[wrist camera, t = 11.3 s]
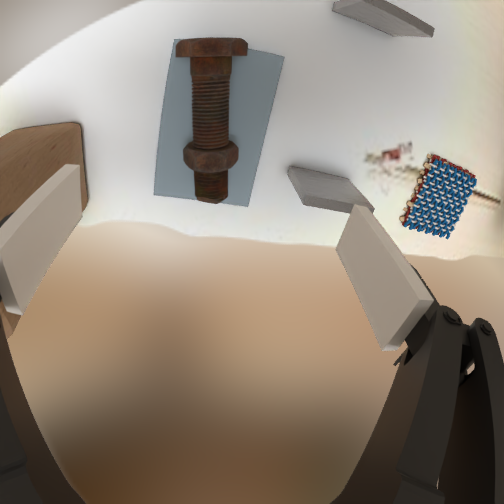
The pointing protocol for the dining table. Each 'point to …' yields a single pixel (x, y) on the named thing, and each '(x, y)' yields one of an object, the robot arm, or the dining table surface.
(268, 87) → the slate pad
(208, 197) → the bolt
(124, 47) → the dining table surface
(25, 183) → the wooden block
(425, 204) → the woven mat
